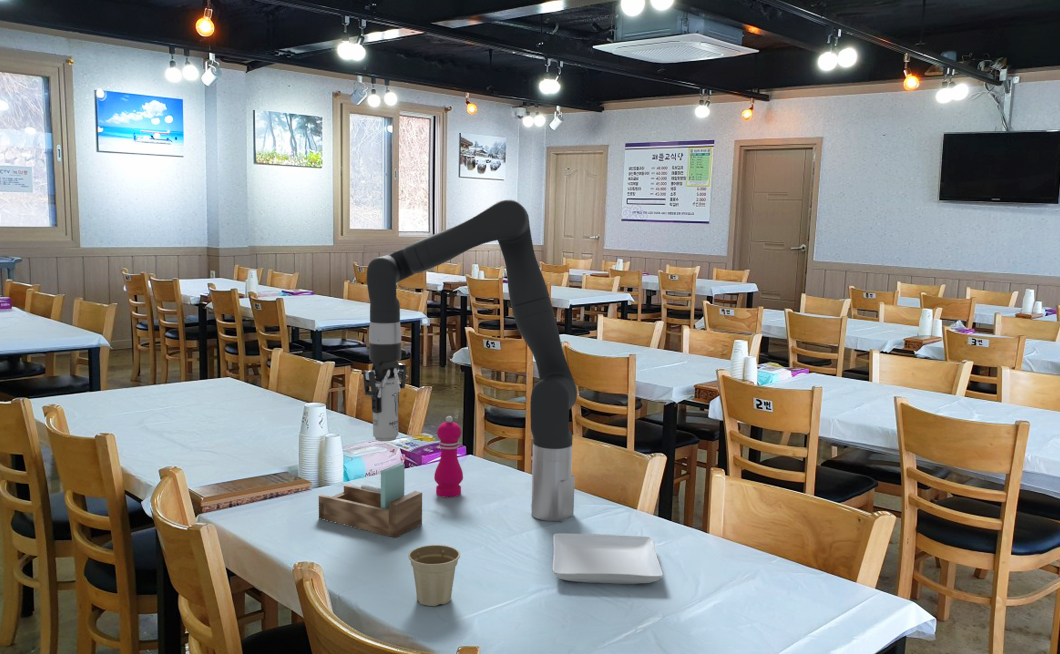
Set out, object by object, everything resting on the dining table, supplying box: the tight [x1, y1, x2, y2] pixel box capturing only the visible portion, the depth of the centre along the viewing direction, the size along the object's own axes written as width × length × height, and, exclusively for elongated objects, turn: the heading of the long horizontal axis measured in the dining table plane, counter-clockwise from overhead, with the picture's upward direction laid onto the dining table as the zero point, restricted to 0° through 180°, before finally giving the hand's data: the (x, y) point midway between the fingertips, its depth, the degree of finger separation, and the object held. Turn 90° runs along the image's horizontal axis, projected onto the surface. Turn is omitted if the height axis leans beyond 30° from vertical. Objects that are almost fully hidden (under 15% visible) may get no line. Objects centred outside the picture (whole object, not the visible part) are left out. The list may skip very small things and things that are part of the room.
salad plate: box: [551, 533, 664, 585], centre depth 173 cm, size 21×21×3 cm
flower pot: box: [407, 544, 461, 607], centre depth 156 cm, size 9×9×9 cm
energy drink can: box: [372, 377, 399, 442], centre depth 205 cm, size 6×6×15 cm
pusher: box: [360, 462, 406, 510], centre depth 193 cm, size 9×7×12 cm
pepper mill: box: [433, 415, 464, 498], centre depth 214 cm, size 7×7×20 cm
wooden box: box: [318, 484, 423, 539], centre depth 194 cm, size 22×10×8 cm, turn 62°
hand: (385, 409), depth 205 cm, fingers closed on energy drink can, 6 cm apart
